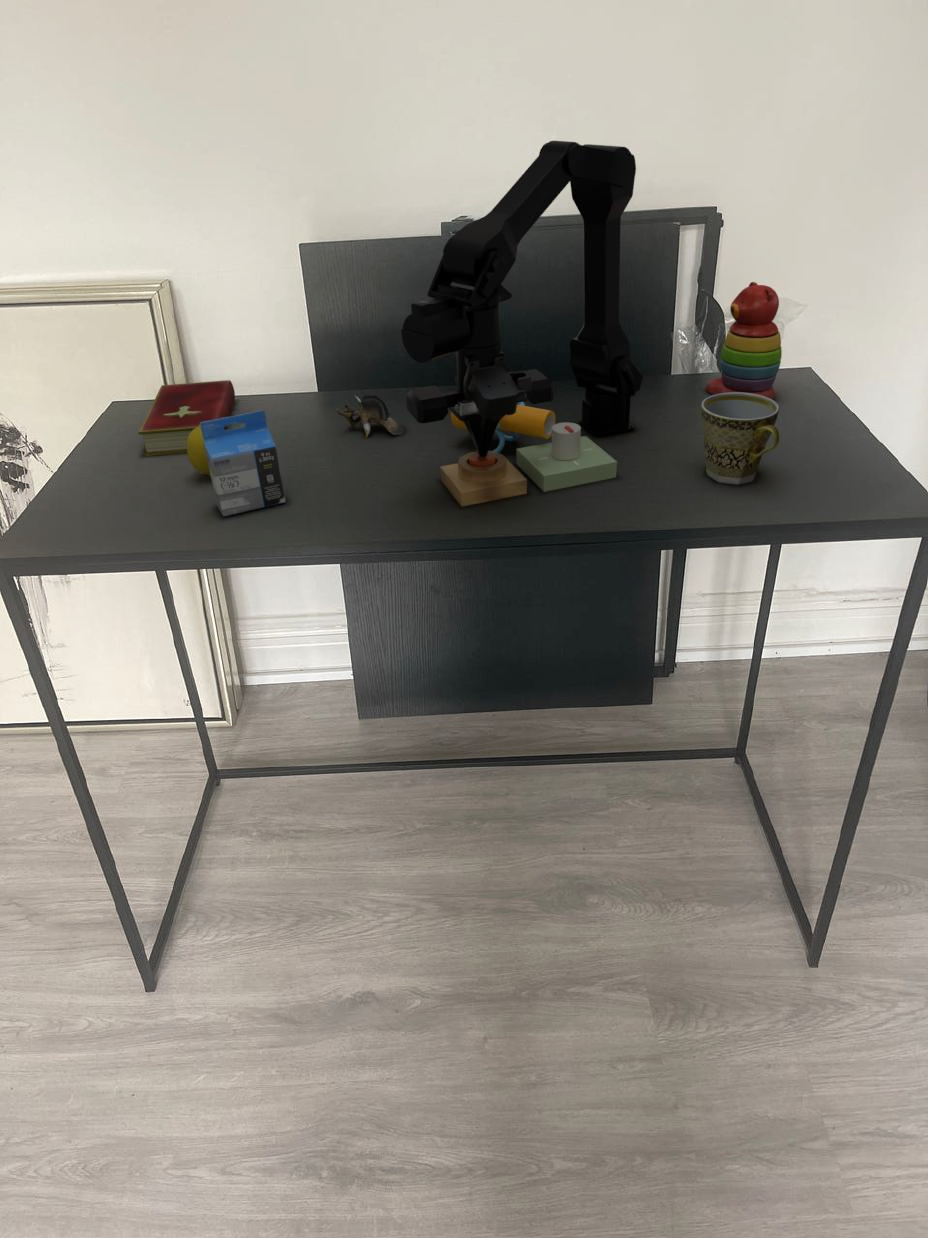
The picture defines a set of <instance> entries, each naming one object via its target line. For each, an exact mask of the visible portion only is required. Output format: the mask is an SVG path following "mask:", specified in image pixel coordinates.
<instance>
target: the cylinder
mask: <svg viewBox="0 0 928 1238" xmlns="http://www.w3.org/2000/svg"><path fill="white" fill-rule="evenodd" d="M477 409H478V408H477ZM450 420H451V423H452V425H453V426H454V427H455V428H457V429H459V430H463V431H464V430H465V431H468V430H467V428H466V425H465V424H464V422H463V421H460V420H459V419H458V418H457V417H456V416H455V415H454V414H453V413H452V412H451V411H450ZM556 420H557V419H556V413H555V411H554V410H549V409H544V408H538V407H533V406H527V405H526V404H525V402H519V403H517V409H516V413H514V414H512V415H505V416H504V417H503V418H502V419H501V420H500V421H499V423H498V425H497V428H496V430H495V432H494V435H495V436H496V437H497V438H499V443H498V445H497V447H496V448H495V449H493V450H492V451H493V452H496V453H499V454H501V452H502V451H503V449H504V447H505V445H506V442H515V441H517V440H518V439H519V434H520V435H524V436H530V437H535V438H541V439H544V440H549V439H550V438H552V426H554V425H555V424H556ZM502 431H505V432H509V433H511V434H512V435H510V436H509V435H506V434H504V432H502Z"/></svg>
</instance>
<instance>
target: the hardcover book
mask: <svg viewBox="0 0 928 1238" xmlns="http://www.w3.org/2000/svg"><path fill="white" fill-rule="evenodd" d="M235 401H236V392H235V387H234V384H233V382H232V381H231V380H230V379H225V380H212V381H199V382H187V383H186V382H185V383H172V384H161V386H160V388H159V389H158V392H157V394H156V395H155V398H154V399H153V402H152V404H151V406H150V407H149V410H148V412H147V414H146V416H145V417H144V420H143V421H142V424H141V426H140V428H139V430H138V436H139V435H142V439H143V442H144V443H143V444H144V447H145V451H144V453H143V456H144V457H149V456H150V457H151V456H163V455H174V454H175V455H176V454H187V439H188V436H189V434H190V433H191V431H192V430H194V429H195V428H197V427H198V426H199V425H200V422H205V421H210V420H215V419H220V418H225V417H231V415H232V411H233V408H234V404H235ZM224 430H228V426H225V427H224Z"/></svg>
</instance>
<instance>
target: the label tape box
mask: <svg viewBox="0 0 928 1238" xmlns="http://www.w3.org/2000/svg"><path fill="white" fill-rule="evenodd" d="M233 423H236V424H237V425H238V424H244V426H240V427H236V428H235V427H234V428H230V429H226V430H224V427H225V426H227V427H228V426H231V425H232V424H233ZM200 426H201V431H202V435H203V444H204V449H205V453H206V457H207V461H208V466H209V470H210V475H211V476H210V478H211V483H212V488H213V492H214V497H215V501H216V504H217V508H218V510H219V511H220V513H221V515H222V517H228V516H232V515H237V514H240V513H245V512H250V511H253V510H258V509H262V508H268V507H271V506H276V505H279V504H284V503H286V495H285V489H284V483H283V479H282V473H281V467H280V461H279V456H278V449H277V446H276V444H275V441H274V439H273V436H272V434H271V432H270V428H269V427H268V424H267V417H266V411H265V410H258V411H252V412H247V413H242V414H237V415H232V416H231V415H230V417H225V418H220V419H215V420H210V421H205V422H200Z"/></svg>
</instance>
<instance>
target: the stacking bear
mask: <svg viewBox="0 0 928 1238" xmlns="http://www.w3.org/2000/svg"><path fill="white" fill-rule="evenodd" d="M779 305H780V299H779V296H778V294H777V291H775V289H774V288H772V287H771V286H769V285H765V284H758V283H757V282H756V281H751V282H749V284H748V286H747V287H745V288H743V289H742V290H741V291H740V292H739V293H738V294H737V296H736V297H735V298H734V299H733V300H732V302H731V304H730V308H729V311H730V314H731V317H732V318H733V319H734V322H732V324H731V325H730V326H729V330H728V331H727V334H726V336H725V339H724V343H723V345H722V348H721V351H720V359H719V360H720V363H719V364H720V371H721V372H720V373H721V377H718V378H717V377H716V378H714V379H711V380H709V382H708V383H707V384H706V391H707V393H708V394H711V395H716V394H721V393H729V392H743V393H752V394H757V395H761V396H765V397H767V398H770V399H772V400H773V399H774V398H775V389H774V383H775V380H776V378H777V374H778V373H779V370H780V366H781V363H782V356H783V355H782V353H783V351H782V350H783V349H782V337H781V332H780V330H779V328H778V326H777V324H776V323H775V322H773V321H774V320H775V318H776V316H777V313H778V310H779V307H780V306H779Z"/></svg>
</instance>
